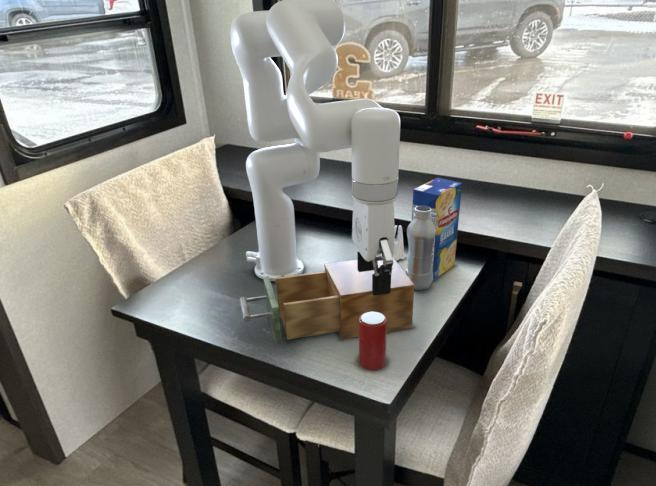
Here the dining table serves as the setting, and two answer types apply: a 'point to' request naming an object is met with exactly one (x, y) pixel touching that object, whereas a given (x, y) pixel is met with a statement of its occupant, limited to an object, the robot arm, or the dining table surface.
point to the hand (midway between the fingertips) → (373, 281)
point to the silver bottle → (420, 248)
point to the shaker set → (398, 245)
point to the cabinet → (370, 297)
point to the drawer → (299, 305)
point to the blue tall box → (441, 219)
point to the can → (372, 340)
